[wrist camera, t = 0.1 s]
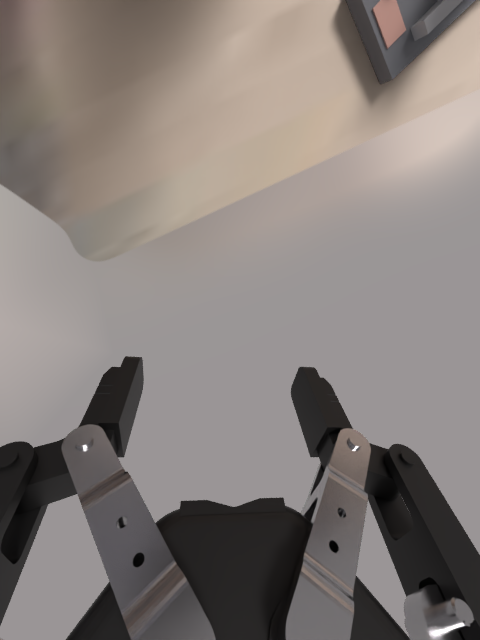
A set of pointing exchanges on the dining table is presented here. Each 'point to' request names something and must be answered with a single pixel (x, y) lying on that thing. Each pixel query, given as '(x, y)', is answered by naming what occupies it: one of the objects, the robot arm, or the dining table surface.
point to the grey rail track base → (401, 29)
